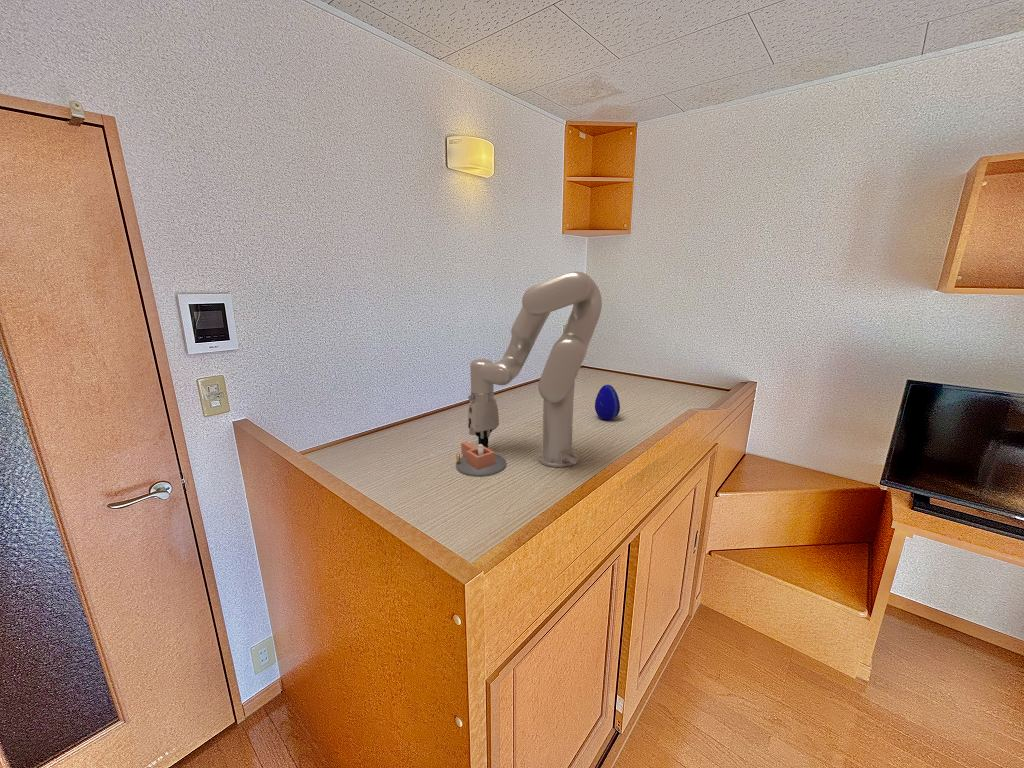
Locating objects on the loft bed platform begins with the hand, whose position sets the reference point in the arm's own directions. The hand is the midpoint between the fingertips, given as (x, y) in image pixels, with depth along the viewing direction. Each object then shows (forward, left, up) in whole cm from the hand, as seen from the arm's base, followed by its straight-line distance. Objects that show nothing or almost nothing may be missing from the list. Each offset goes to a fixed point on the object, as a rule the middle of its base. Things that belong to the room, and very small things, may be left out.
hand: (483, 447), depth 142 cm
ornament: (-3, -61, -2) cm, 61 cm away
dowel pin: (-4, +12, -2) cm, 13 cm away
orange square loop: (-5, +7, -1) cm, 8 cm away
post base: (-8, +6, -2) cm, 10 cm away
